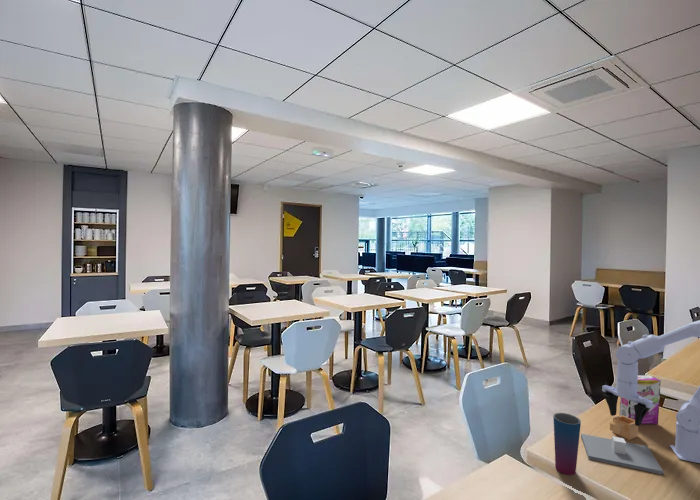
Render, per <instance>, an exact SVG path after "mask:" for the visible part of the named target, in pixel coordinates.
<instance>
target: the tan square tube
mask: <svg viewBox="0 0 700 500" xmlns="http://www.w3.org/2000/svg"><path fill="white" fill-rule="evenodd" d="M609 430H610V431H611V432H612V433H613V434H615V435H617V436H620V437H621V438H624V439H626V440H629V441H630V440H633V439H635V438H637V437H639V426H636V425H635V420H633V419H630V418H628V417H625V416H623V415H621V416H619V415H618V416H615V417H612V421H611V422H610V423H609Z"/></svg>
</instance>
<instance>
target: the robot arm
mask: <svg viewBox="0 0 700 500" xmlns="http://www.w3.org/2000/svg"><path fill="white" fill-rule="evenodd" d="M692 337H693V338H700V319H699V320H696V321H691V322H689V323H686V324H685V325H683V326H679V327H678V328H676V329H673V330H670V331H668V332H665V333H664V334H661V335H655V334H649V335H648V334H647V333H645V334H644V335H641V338H638V339H636V340H634V341H632V340H630V341H629V340H628V342H627V343H625V344H623V345H621V346H620V347H618V348H617V349H616V350H615V351H616V352H615V357H616V358H617V365H616V383H615V384H616V385H615V387H614V386H610V385H608V384H605V385H602V386H601V387H602V388H601V391H602V392H604V393H603V398H604V399H605V402H606V404H607V407H608V409H609V413H610V416H616V415H617V411H618V409H617V407H618V400H619V398H620V397H622V398H625V399H628V400H630V401H633V402H636V403H638V404H636V405H634V409H635V425H636V426H638V427H640V426H641V425H642V424H641V423H642V420H643V417H644V415H645V414H646V412H647V411H648V410H649V409H650V408H651V407H653V401H651V400H648V399H646V398H644V397H642V396H640V395H638V394H637V385H638V375H639V359H646V358H648V357H651V356H653V355H656V354H660V353H662V352H664V351H665V349H666V346H668V345H670V344H674V343H676V342H680V341H683V340H686V339H689V338H692ZM675 420H676V422H675V441H674V445H673V444H670V445H669V448H670V449H671V450H672V451H673V452H674V454H675V455H676V457H677V458H678V459H679V460H682V461H687V462H690V463H691V462H692V463H697V464H700V385H699V386H698V388H697V389H696V391H695V393H694V394H693V395H692V396H691V397H690V399H689V400H687V401H685V402H683V403H682V404H681V406H680V409H679V410H678V411H677V412H676V415H675Z"/></svg>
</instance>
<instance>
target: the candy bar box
mask: <svg viewBox="0 0 700 500" xmlns="http://www.w3.org/2000/svg"><path fill="white" fill-rule="evenodd" d="M661 381H662V380H661V379H659V378H656V377H654V376H652V375H648V374H647V375H646V374H645V375H639V374H638V385H637V394H638V395H640V396H642V397H644V398H646V399H648V400H651V401H653V407H651V408H650V409H649V410H648V411H647V412H646V414H645V415H644V417H643V420H642V423H641V425H659V415H660V414H659V411H660V410H659V409H660V396H661V395H660V394H661ZM619 398H620V399H619V415H618V416H621V415H623V416H625V417H628V418H630V419H633V420H635V409H634V405H636V404H638V403H636V402H633V401H630V400H628V399H625V398H622V397H619Z"/></svg>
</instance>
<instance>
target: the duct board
mask: <svg viewBox="0 0 700 500" xmlns="http://www.w3.org/2000/svg"><path fill="white" fill-rule="evenodd" d="M580 438H581V441H582V443H583V446H584V449H585V452H586V455H587V459H588V460H592V461H597V462H602V463H606V464H610V465H616V466H619V465H620V467H624V466H625V467H624V468H629V467H630V469H635V470H640V471H643V472H648V473H653V474H657V475H658V474H659V475H664V469H663V468H662V467H661V465H660V464H659V461H657V459H656V458H655V456H654V454H653V452H652V451H651V450H650V447H649V446H648V445H644V444H638V443H633V442H628V441H626V440H625V438H624V437H617V436H613V435H612V436H611V438H607V437H600V436H596V435H589V434H586V433H580Z"/></svg>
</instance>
